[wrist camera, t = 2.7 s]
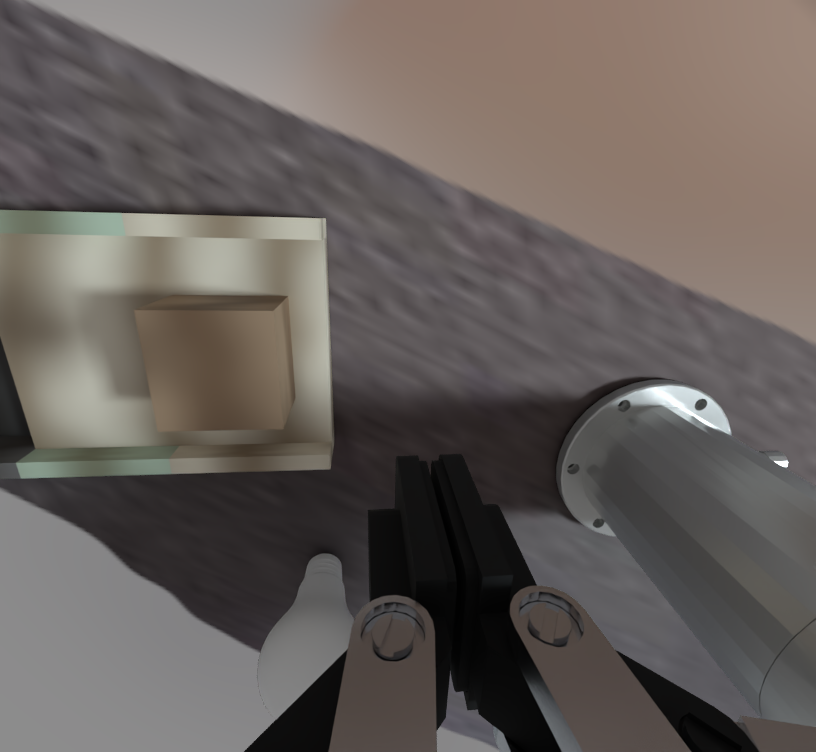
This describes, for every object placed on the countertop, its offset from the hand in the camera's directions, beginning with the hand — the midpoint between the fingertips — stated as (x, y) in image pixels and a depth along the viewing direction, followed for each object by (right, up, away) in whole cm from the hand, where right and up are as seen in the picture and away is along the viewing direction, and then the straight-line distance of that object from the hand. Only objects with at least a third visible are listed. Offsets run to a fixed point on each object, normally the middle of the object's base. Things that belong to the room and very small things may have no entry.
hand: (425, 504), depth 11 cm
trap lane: (-17, +5, +14) cm, 23 cm away
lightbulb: (-7, -10, +21) cm, 25 cm away
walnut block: (-10, +5, +13) cm, 17 cm away
